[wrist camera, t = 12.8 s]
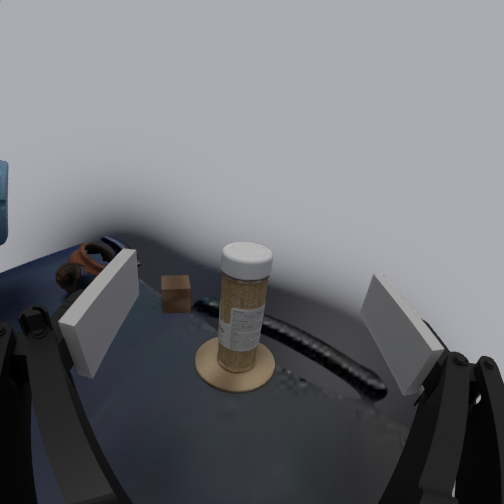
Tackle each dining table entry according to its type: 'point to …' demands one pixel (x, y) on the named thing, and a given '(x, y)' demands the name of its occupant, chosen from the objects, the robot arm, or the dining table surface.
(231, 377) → the cork coaster
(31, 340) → the robot arm
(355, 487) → the dining table surface
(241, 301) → the sprinkles bottle
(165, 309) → the walnut block
